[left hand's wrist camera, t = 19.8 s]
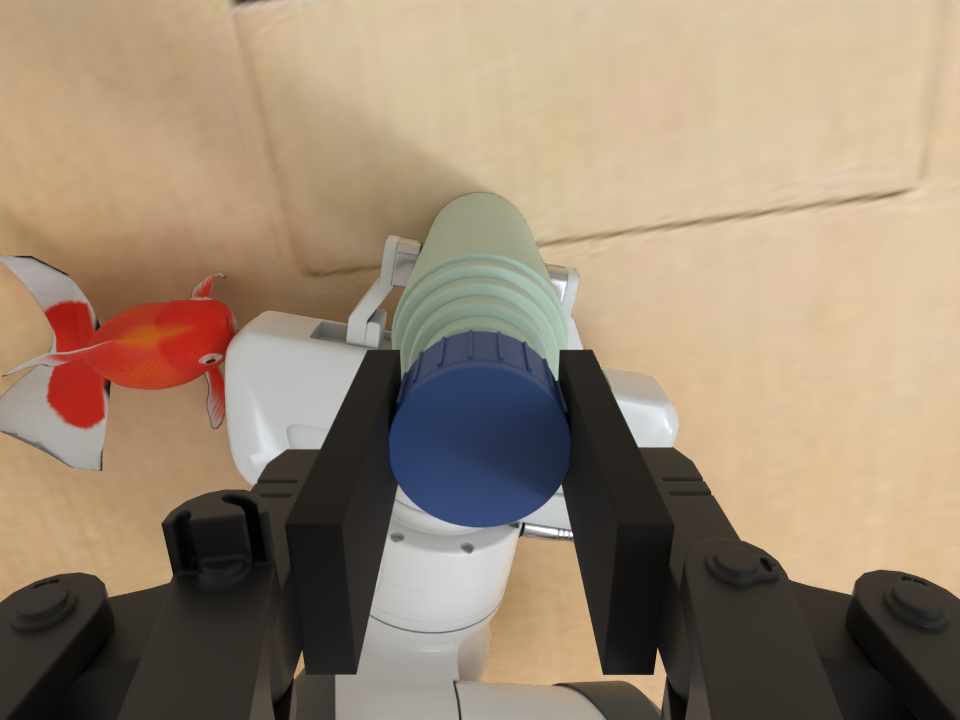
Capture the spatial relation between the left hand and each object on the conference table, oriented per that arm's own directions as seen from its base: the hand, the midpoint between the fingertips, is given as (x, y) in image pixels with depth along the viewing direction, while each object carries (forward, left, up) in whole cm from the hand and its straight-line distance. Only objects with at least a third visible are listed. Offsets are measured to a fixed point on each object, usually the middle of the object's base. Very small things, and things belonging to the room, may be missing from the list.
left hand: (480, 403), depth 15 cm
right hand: (-1, 0, -13) cm, 13 cm away
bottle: (0, 0, -19) cm, 19 cm away
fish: (+13, -14, -19) cm, 27 cm away
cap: (0, 0, +2) cm, 2 cm away
